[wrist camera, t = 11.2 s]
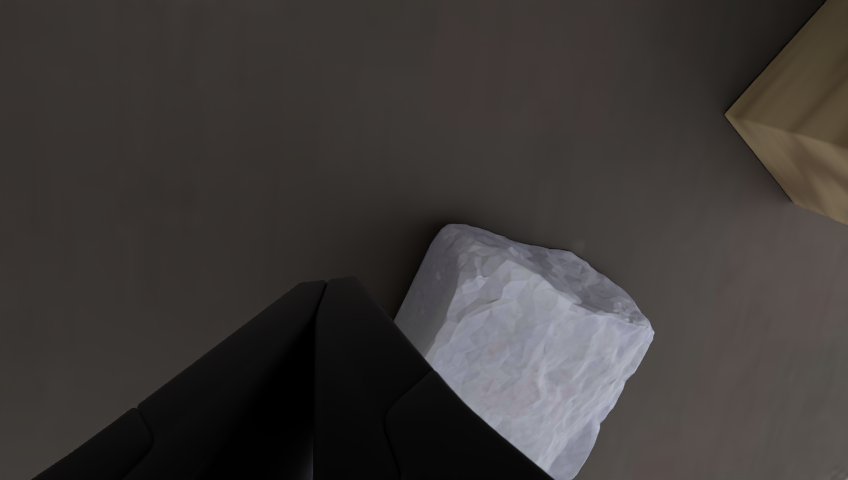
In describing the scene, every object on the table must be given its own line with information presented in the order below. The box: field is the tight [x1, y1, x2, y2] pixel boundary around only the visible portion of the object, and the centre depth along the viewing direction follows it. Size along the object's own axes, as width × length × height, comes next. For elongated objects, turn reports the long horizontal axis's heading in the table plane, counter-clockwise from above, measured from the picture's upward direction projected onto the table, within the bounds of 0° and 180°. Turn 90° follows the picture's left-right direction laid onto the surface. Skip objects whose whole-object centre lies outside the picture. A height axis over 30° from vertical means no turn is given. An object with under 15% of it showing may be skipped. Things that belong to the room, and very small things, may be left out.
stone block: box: [394, 224, 654, 480], centre depth 24 cm, size 12×5×10 cm
